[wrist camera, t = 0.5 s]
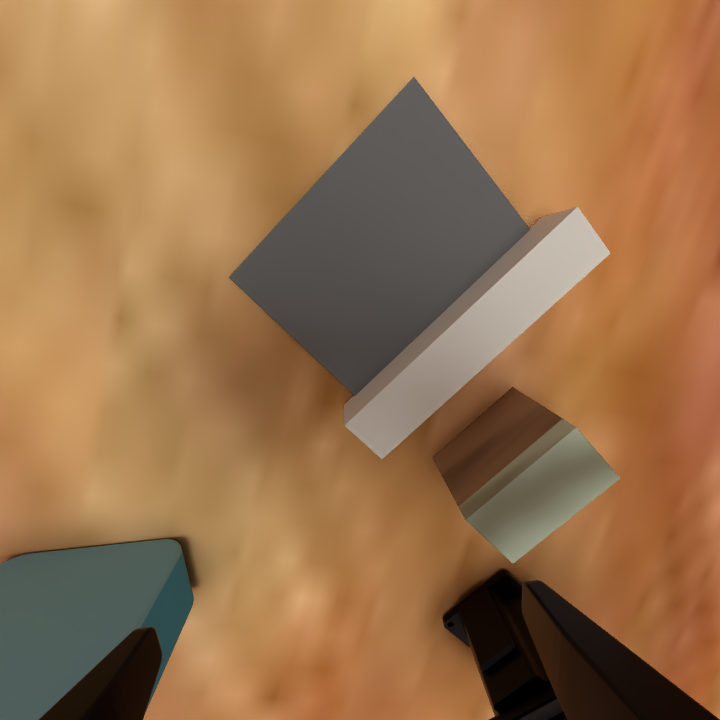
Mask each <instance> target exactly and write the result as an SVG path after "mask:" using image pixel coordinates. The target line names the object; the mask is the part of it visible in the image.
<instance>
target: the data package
mask: <svg viewBox="0 0 720 720" xmlns="http://www.w3.org/2000/svg"><path fill="white" fill-rule="evenodd" d="M192 605H193V593H192V589H191V585H190V581H189V576H188V572H187V568H186V564H185V560H184V556H183V552H182V548H181V545H180V544H179V543H178V542H177V541H175V540H172V539H161V540H151V541H142V542H133V543H123V544H114V545H104V546H95V547H86V548H76V549H67V550H57V551H48V552H39V553H30V554H25V555H21V556H18V557H15V558H12V559H10V560H8V561H6V562H4V563H2V564H0V720H39V719H40V718H41V717H42V716H43V715H44V714H45V713H46V712H47V711H48V710H49V709H50V708H51V707H52V706H53V705H54V704H56V703H57V702H58V701H59V700H60V699H61V698H62V697H63V696H64V695H65V694H66V693H67V692H68V691H69V690H70V689H71V688H73V687H74V686H75V685H76V684H77V683H78V682H79V681H80V680H81V679H82V678H83V677H84V676H85V675H86V674H87V673H88V672H90V671H91V670H92V669H93V668H94V667H95V666H96V665H97V664H98V663H99V662H100V661H101V660H102V659H103V658H104V657H105V656H106V655H108V654H109V653H110V652H111V651H112V650H113V649H114V648H115V647H116V646H117V645H118V644H119V643H120V642H121V641H122V640H123V639H125V638H126V637H127V636H128V635H129V634H130V633H131V632H132V631H133V630H135V629H137V628H143V627H154V628H155V629H156V632H157V635H158V639H159V642H160V646H161V649H162V661H161V666H160V669H159V672H158V675H157V678H156V681H155V684H154V687H153V690H152V693H151V696H150V700H149V703H150V701H151V699H152V696H153V694H154V692H155V690H156V687H157V685H158V683H159V681H160V678H161V676H162V674H163V671H164V669H165V667H166V665H167V662H168V660H169V658H170V656H171V653H172V651H173V649H174V646H175V644H176V642H177V640H178V637H179V635H180V633H181V631H182V628H183V626H184V624H185V622H186V619H187V617H188V615H189V612H190V610H191V608H192ZM149 703H148V705H149ZM147 708H148V706H147ZM146 710H147V709H146Z"/></svg>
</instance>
